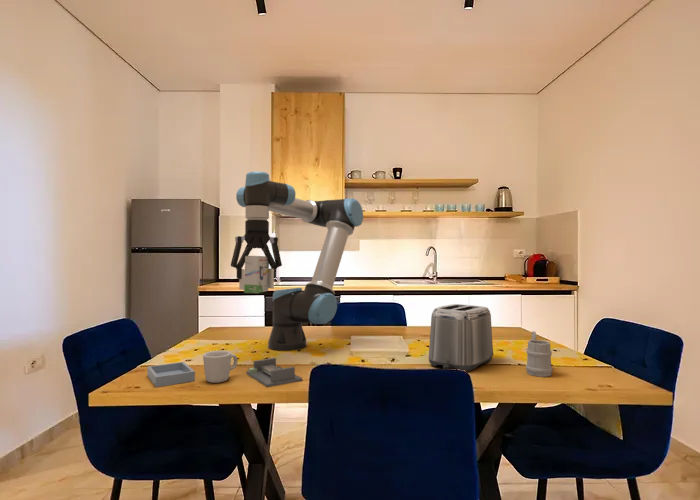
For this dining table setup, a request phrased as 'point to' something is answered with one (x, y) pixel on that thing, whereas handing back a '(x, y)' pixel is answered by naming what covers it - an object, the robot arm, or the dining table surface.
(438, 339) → the toaster
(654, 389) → the dining table surface
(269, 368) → the checker pad
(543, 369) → the mug
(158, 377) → the trough
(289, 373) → the cradle
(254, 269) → the ink box
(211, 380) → the cup
